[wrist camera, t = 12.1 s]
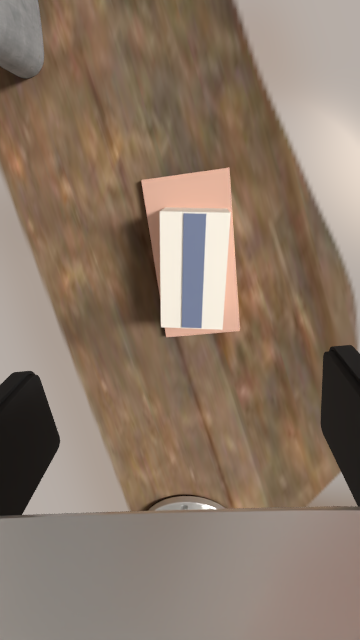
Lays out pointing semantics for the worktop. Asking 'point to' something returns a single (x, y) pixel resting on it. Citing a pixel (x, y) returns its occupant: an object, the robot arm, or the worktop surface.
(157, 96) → the worktop surface
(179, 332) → the mat
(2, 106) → the worktop surface
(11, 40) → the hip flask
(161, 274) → the card box
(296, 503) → the worktop surface
